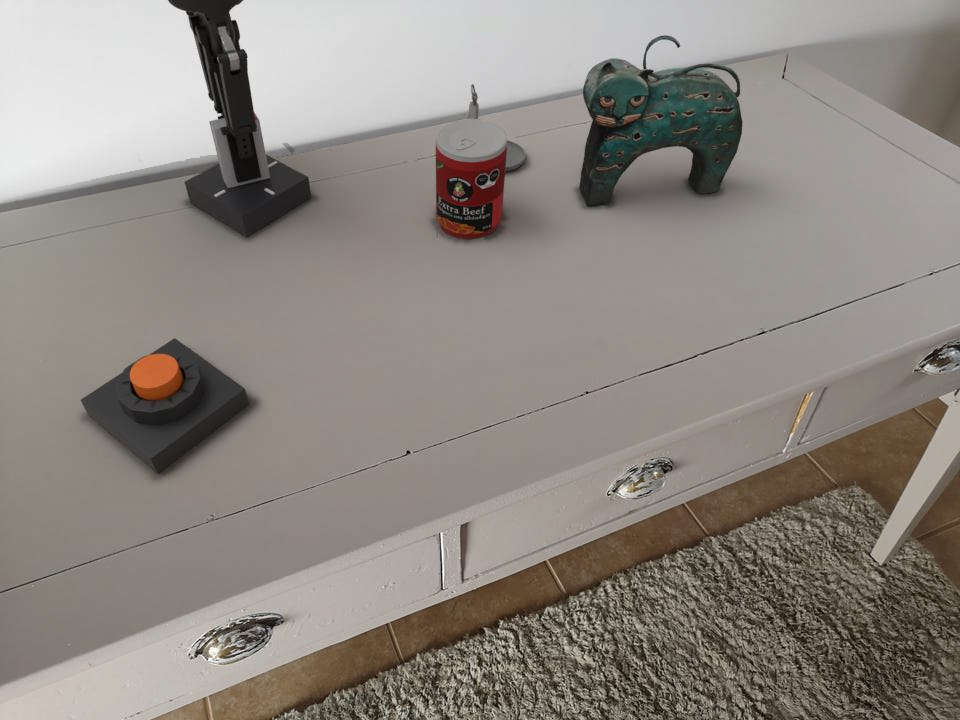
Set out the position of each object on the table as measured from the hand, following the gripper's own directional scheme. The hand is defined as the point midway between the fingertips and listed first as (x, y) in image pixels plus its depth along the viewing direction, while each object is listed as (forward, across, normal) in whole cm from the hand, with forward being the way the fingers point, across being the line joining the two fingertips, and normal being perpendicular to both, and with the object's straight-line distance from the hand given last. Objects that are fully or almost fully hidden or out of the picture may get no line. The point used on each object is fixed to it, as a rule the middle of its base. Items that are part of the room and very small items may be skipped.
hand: (245, 172), depth 90 cm
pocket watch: (+4, -4, -30) cm, 31 cm away
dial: (+1, 0, 0) cm, 1 cm away
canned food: (+4, -15, -22) cm, 26 cm away
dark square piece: (+4, -28, +16) cm, 32 cm away
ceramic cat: (+4, -19, -44) cm, 48 cm away
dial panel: (+4, 0, 0) cm, 4 cm away
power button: (0, -28, +16) cm, 32 cm away
